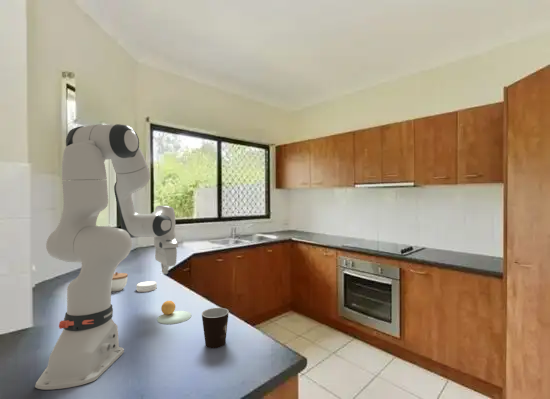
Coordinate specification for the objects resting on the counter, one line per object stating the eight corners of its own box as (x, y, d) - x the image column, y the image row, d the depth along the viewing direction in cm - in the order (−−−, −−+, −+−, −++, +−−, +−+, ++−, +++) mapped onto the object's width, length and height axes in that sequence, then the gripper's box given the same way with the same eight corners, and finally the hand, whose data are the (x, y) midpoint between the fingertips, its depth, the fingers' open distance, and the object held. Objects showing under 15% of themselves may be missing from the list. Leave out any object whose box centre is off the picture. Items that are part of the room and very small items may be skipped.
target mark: (189, 322, 109) (189, 321, 109) (154, 325, 106) (154, 325, 106) (192, 310, 121) (192, 309, 121) (160, 312, 119) (160, 312, 119)
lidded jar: (120, 292, 147) (120, 274, 147) (100, 292, 147) (100, 274, 148) (131, 286, 158) (131, 270, 158) (112, 286, 158) (112, 270, 158)
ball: (169, 296, 120) (172, 306, 122) (157, 303, 116) (160, 314, 118) (176, 301, 116) (179, 311, 118) (163, 309, 112) (167, 319, 114)
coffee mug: (215, 352, 86) (215, 319, 86) (196, 345, 90) (196, 314, 91) (240, 337, 96) (239, 307, 96) (221, 331, 100) (221, 303, 100)
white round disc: (149, 286, 160) (149, 279, 160) (160, 288, 155) (160, 282, 155) (132, 290, 151) (132, 284, 151) (144, 293, 146) (144, 286, 146)
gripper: (151, 240, 132) (151, 270, 132) (163, 245, 116) (163, 279, 115) (165, 239, 136) (165, 268, 136) (179, 243, 119) (179, 276, 119)
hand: (165, 273), depth 125 cm, fingers closed
